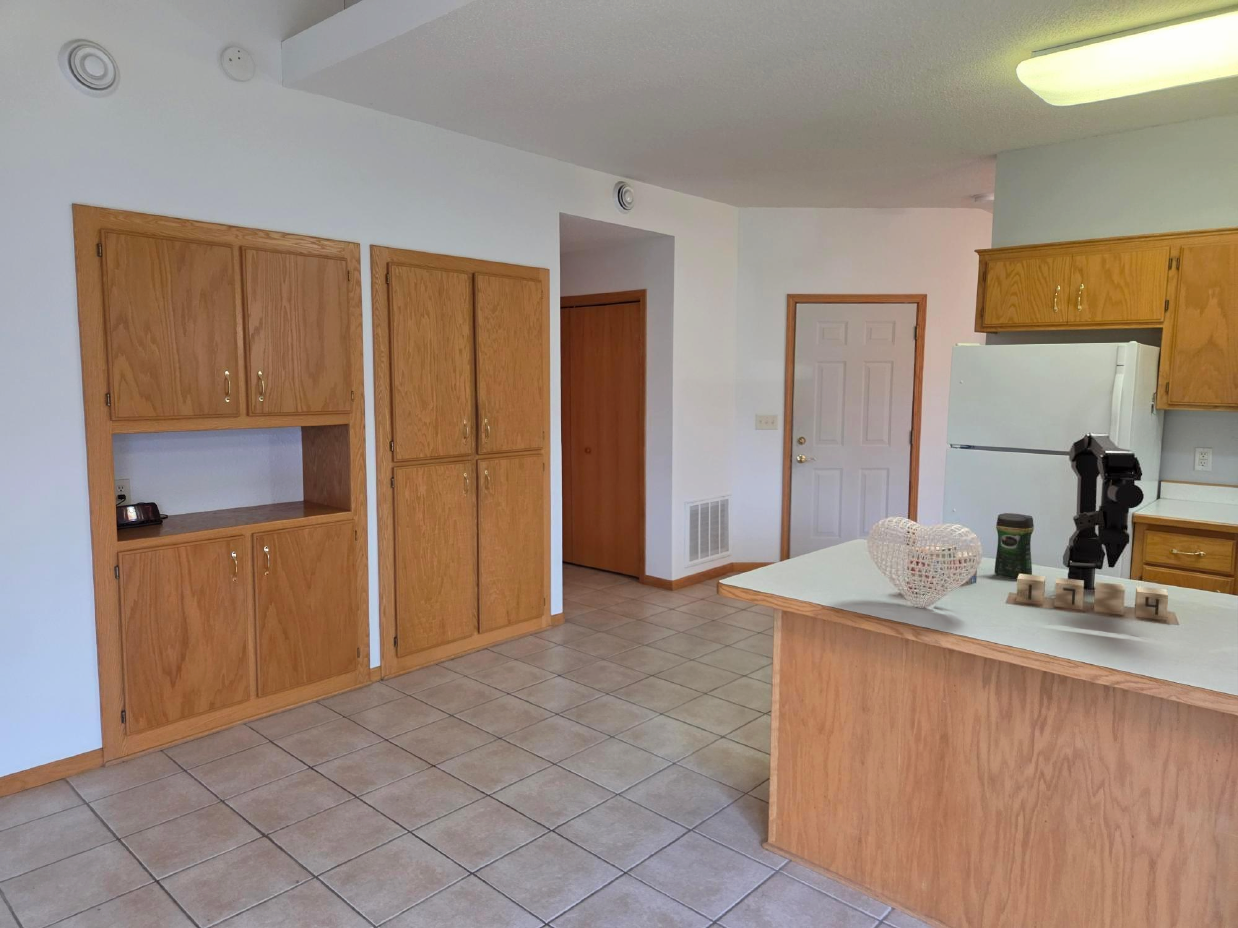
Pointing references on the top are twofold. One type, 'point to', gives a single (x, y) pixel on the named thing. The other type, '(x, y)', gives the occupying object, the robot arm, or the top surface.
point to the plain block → (1109, 598)
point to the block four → (1151, 603)
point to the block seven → (1069, 593)
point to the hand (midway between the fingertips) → (1110, 565)
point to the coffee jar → (1013, 545)
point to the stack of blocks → (969, 581)
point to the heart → (919, 531)
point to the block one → (1030, 589)
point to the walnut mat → (1089, 609)
